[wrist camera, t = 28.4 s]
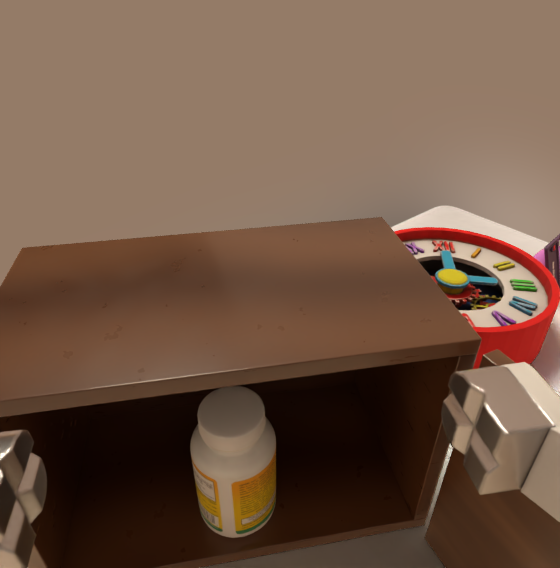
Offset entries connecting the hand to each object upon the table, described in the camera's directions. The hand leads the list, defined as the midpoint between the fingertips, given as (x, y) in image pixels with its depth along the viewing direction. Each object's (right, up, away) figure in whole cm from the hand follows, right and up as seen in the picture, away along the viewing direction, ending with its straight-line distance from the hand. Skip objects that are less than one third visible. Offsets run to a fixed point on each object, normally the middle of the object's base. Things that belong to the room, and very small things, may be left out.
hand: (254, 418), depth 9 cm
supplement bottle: (-2, -13, +24) cm, 27 cm away
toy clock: (+19, -1, +43) cm, 47 cm away
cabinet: (-3, -12, +27) cm, 30 cm away
